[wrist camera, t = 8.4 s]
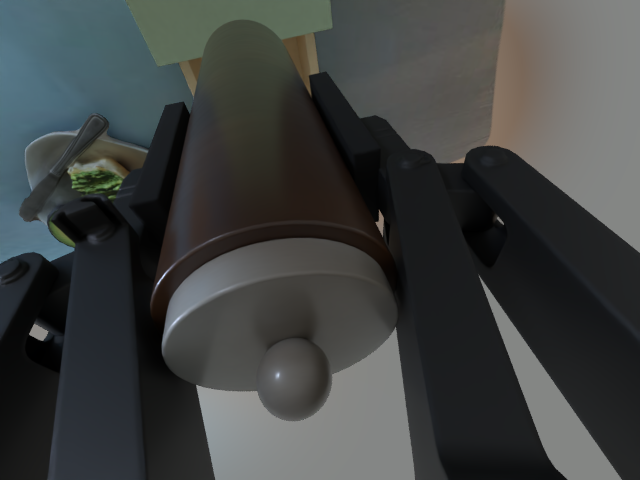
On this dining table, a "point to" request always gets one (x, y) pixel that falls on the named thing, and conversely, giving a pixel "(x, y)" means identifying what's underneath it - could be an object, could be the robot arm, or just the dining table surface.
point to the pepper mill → (267, 238)
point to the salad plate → (75, 169)
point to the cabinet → (219, 22)
